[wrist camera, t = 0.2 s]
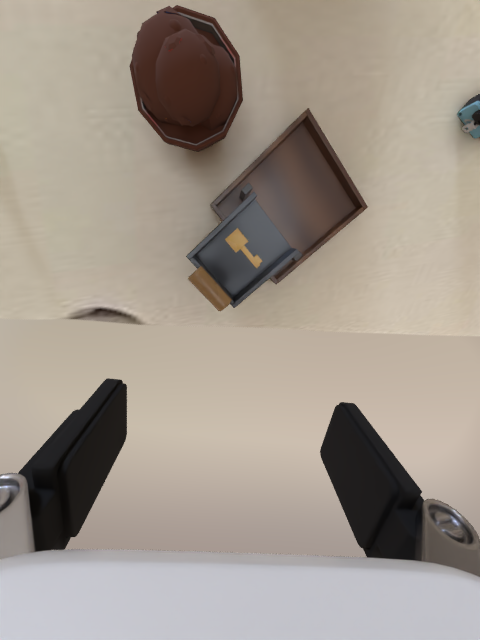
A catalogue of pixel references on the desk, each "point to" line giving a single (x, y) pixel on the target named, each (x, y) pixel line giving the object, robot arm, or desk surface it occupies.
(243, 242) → the key
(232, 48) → the ice cream bowl
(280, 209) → the tray
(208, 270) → the scoop
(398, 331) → the desk surface
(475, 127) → the push button
